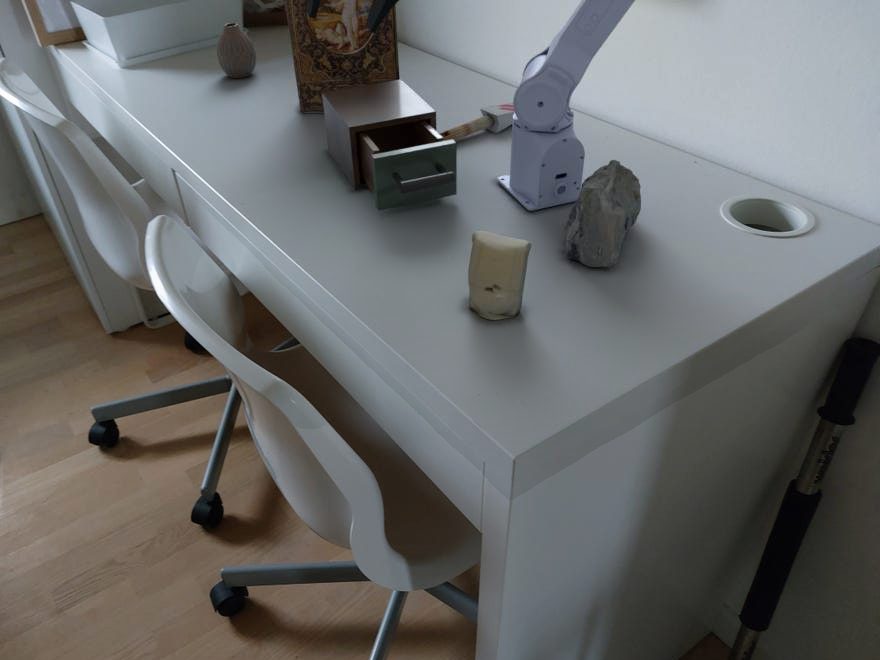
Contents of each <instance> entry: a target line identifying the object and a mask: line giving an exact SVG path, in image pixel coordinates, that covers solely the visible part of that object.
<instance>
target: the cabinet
mask: <svg viewBox="0 0 880 660" xmlns="http://www.w3.org/2000/svg"><path fill="white" fill-rule="evenodd" d="M322 98H323V106H324V113H323V114H324V123H325V130H326V138H327V147H328V153H329V154H330V156H331V157H332V159H333V160H334V162H335V163H336V165H337V166H338V168H339V169H340V170H341V172H342V174H343V175H344V176H345V178H346V179H347V181H348V182H349V184H350V185H351V187H352V188H353V190H354V191H355V192H357V191H361V190H367V189H370V188H369V187H368V185H367V184H366V183H365V181H364V180H363V178H362V177H361V176H360V174H359V164H358V153H357V142H356V133H355V132H360V131H365V130H371V129H376V128H381V127H387V126H392V125H398V124H403V123H408V122H414V121H419V120H425V121H426V122H427V123H428V124H430V125H431V126H432V127H433V128H434V129H435V130H436V131H437V111H436V110H435V109H434V108H433V107H432V106H431V105H430V104H428V103H427V101H426V100H424V99H423V98H422V97H421V96H420V95H419V94H417V92H415V90H413V89H412V88H411V87H410V86H409V85H408V84H407V83H406V82H405V81H404V80H403V79H401V78H400V80H395V81H389V82H383V83H377V84H371V85H365V86H359V87H353V88H347V89H341V90H336V91H330V92H324V93H322Z"/></svg>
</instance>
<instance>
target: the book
mask: <svg viewBox="0 0 880 660" xmlns="http://www.w3.org/2000/svg"><path fill="white" fill-rule="evenodd" d="M372 3H373V0H321V1H320V5H319V9H318V13H317V15H316V18H311V17H309V15H308V13H307V10H306V7H307V0H284V4H285V5H284V6H285V12H286V19H287V26H288V32H289V38H290V39H289V40H290V48H291V54H292V61H293V68H294V69H293V70H294V76H295V83H296V89H297V97H298V103H299V110H300V112H301V113H303V114H320V113H321V114H324V106H323V98H322V93H324V92H330V91H336V90H341V89H347V88H353V87H359V86H365V85H371V84H377V83H383V82H389V81H395V80H400V79H401V78H400V77H401V76H400V60H399V47H398V46H399V42H398V26H397V25H398V24H397V4H395V5H394V6H393V8H392V9H391V10H390V11H389V13H388V14H387V15H386V17H385V18H384V20H383V21H382V23H381V24H380V26H379V27H378V29H377V31H376V33H372V32H370V31H369V29H368V27H367V25H366V22H367V18H368V14H369V11H370V8H371V5H372Z"/></svg>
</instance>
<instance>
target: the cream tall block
mask: <svg viewBox="0 0 880 660" xmlns="http://www.w3.org/2000/svg"><path fill="white" fill-rule="evenodd" d="M471 242H472V245H471V251H470V256H469V263H468V272H467V280H468V282H467V283H468V292H469V294H468V295H469V296H468V308H469V309H470V310H472V311H474V312H476V313H477V315H478V316H480V317H482V318H484V319H487V320H491V321H499V320H503V319H514V318H516V317H517V316H518V315H519V314H520V312H521V309H522V306H523V305H522V304H523V296H524V288H525V282H526V275H527V269H528V261H529V255H530V252H531V249H532V243H531V241H529V240H526V239H521V238H516V237H513V236H508V235H506V234H505V235H504V234H500V233H495V232H491V231H487V230H477V231H474V232H473V233H472V235H471Z"/></svg>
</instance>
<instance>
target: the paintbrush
mask: <svg viewBox="0 0 880 660" xmlns="http://www.w3.org/2000/svg"><path fill="white" fill-rule="evenodd" d="M479 110H480V112H481V115H482V116H481V117H478V118H475V119H473V120H470V121H468V122H465V123H463V124H460V125H458V126H455V127H452V128H450V129H446V130H444V131H442V132H441V133H439V132H438V133H439V134H440V135H441V136H442V137H443V141H447V140H452V139H453V140H454V141H455V142H456V141H458V140H460V139H463V138H466V137H468V136H471V135H473V134H476V133H478V132H481V131H484V130H487V131H490V132H493V133H494V134H498V133H500V132H502V131H503V130H505V129H506V128H508V127H509V126H511V125H512V123H513V114H514V108H513V102H510V103H506V104H500V105H494V106H486V107H481V108H479Z"/></svg>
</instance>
